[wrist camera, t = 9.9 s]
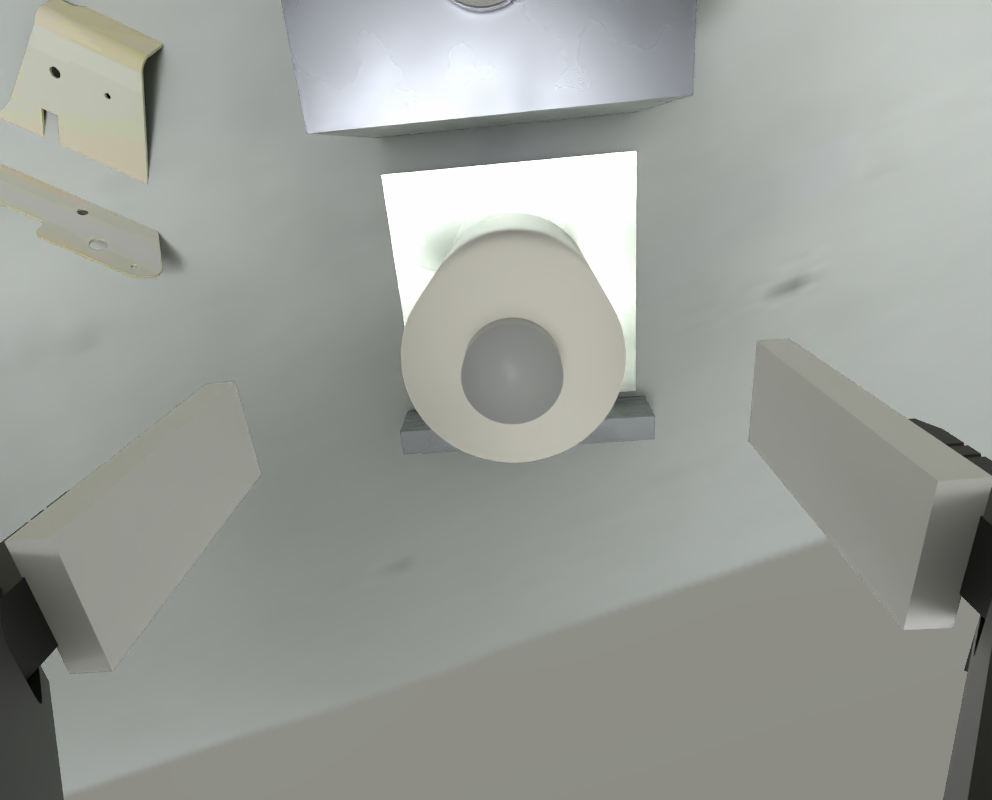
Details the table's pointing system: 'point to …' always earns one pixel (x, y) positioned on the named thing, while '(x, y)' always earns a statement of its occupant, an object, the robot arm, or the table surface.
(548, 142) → the table surface
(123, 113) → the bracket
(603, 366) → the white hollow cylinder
